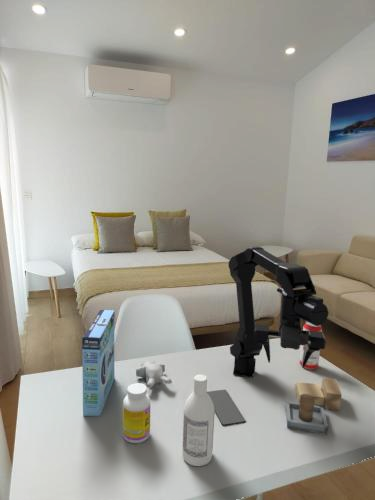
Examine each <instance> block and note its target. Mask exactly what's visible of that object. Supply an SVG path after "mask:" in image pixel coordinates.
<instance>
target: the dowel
mask: <svg viewBox="0 0 375 500" xmlns="http://www.w3.org/2000/svg"><path fill="white" fill-rule="evenodd" d="M314 400H315V399H314V397H313V396H312V395H309V394H302V395H301V396H300V406H299V418H300V419H301V420H302V421H304V422H311V421H312V419H313V409H314Z"/></svg>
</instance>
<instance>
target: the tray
mask: <svg viewBox="0 0 375 500" xmlns="http://www.w3.org/2000/svg"><path fill="white" fill-rule="evenodd" d="M299 406H300V403H299V402H295V401H288V400H286V401H285V418H286V420H285V421H286V429H291V430H296V431H297V430H298V431H303V432H309V433H315V434H321V435H326V436H328V432H329V426H328V421H327V417H326V413H325V408H324V406H321V405H314V409H313V419H312V421H311V422H304V421H302V420H301V419H300V418H299Z"/></svg>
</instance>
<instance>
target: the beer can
mask: <svg viewBox="0 0 375 500" xmlns="http://www.w3.org/2000/svg"><path fill="white" fill-rule="evenodd" d="M304 323H305V324H304V325H303V328H302V330H304V331H309V330H313V331H321V332H322V333H323V329H322V325H320V326H315V325H313V324H311V323H309V322H307V321H305V322H304ZM304 349H305V346H304V345H300V354H299V355H300V356H299V365H300V366H301V367H302V360H303V354H304ZM320 351H321V349H320V350H319V351H314V352H313V353H312V354H311V356H310V357H309V359H308V361H307V363H306V364H305V366H304V367H302V368H304V369H305V370H309V371H310V370H311V371H312V370H313V371H314V370H315V369H317V368H318V367H319V362H320Z"/></svg>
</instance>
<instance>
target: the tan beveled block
mask: <svg viewBox="0 0 375 500" xmlns="http://www.w3.org/2000/svg"><path fill="white" fill-rule="evenodd" d="M294 392H295V396H296V398H297V401H298V402H297V403H300V396H301V395H302V394H309V395H312V396H313V397H314V399H315V400H314V405H315V406H322V407H324V400H325V397H324V395H323V392H322V390H321V386H320V384H319V383H313V382H301V381H300V382H299V381H295V383H294Z"/></svg>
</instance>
